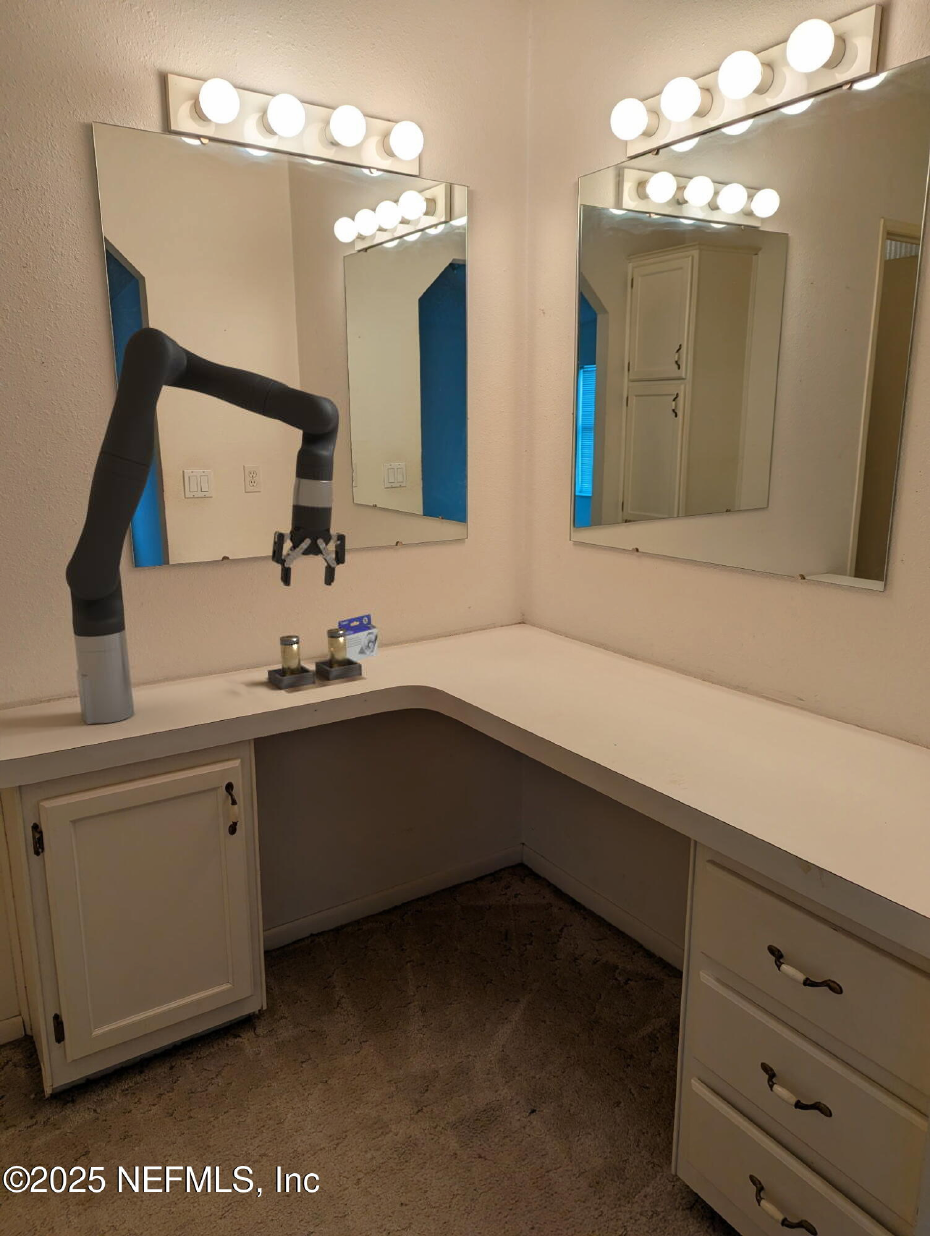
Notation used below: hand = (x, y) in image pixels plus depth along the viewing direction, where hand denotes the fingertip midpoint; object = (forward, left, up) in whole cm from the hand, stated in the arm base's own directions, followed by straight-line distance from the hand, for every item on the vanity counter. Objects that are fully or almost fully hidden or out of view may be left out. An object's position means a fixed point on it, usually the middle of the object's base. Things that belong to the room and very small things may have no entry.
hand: (307, 585), depth 166 cm
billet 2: (+12, +14, -23) cm, 29 cm away
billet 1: (+1, +13, -23) cm, 27 cm away
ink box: (+21, +23, -25) cm, 40 cm away
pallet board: (+6, +14, -25) cm, 29 cm away
